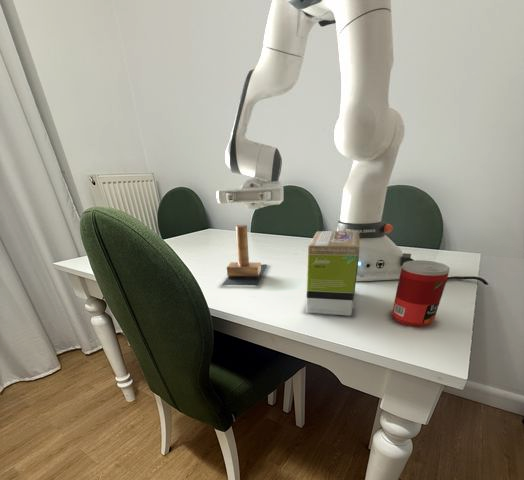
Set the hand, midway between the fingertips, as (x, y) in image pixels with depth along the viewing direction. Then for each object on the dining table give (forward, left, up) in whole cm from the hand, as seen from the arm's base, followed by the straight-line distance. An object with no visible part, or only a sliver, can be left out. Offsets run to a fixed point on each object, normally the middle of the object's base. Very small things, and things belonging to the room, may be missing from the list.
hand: (246, 197), depth 82 cm
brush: (0, +8, -20) cm, 22 cm away
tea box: (-24, +25, -21) cm, 40 cm away
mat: (0, +6, -21) cm, 21 cm away
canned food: (-40, +33, -21) cm, 56 cm away
